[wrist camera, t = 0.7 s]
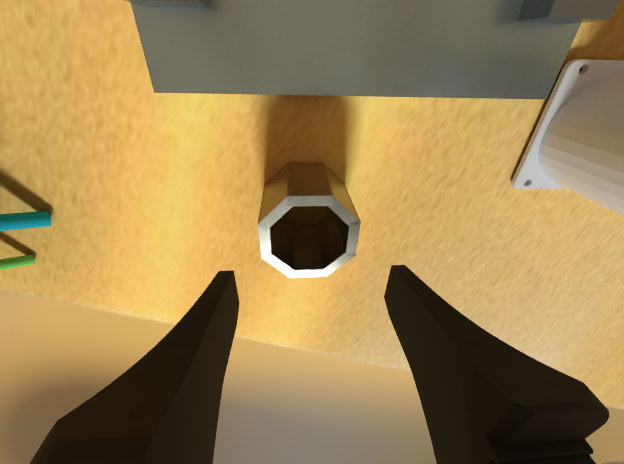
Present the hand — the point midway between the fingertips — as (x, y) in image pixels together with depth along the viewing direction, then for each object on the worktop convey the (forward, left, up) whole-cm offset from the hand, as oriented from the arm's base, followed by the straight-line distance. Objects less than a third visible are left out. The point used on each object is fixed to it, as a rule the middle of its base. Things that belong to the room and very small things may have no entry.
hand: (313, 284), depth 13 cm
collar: (0, 0, -8) cm, 9 cm away
